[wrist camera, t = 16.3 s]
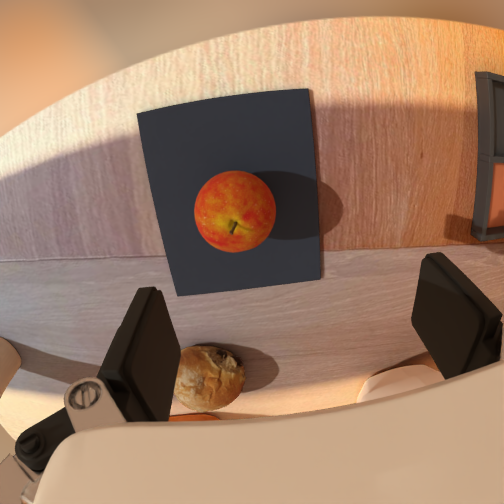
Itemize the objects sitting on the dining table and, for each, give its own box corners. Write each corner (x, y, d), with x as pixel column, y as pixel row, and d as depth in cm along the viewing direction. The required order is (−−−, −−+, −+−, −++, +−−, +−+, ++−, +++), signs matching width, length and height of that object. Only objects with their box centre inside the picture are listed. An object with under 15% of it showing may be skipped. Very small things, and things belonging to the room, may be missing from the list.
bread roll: (174, 329, 42) (141, 370, 36) (237, 335, 37) (206, 386, 31) (202, 376, 46) (176, 415, 40) (261, 385, 41) (237, 432, 35)
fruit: (238, 149, 28) (237, 163, 21) (286, 202, 30) (301, 234, 23) (184, 197, 30) (167, 227, 23) (233, 246, 32) (231, 288, 25)
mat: (137, 113, 26) (136, 113, 26) (307, 88, 26) (308, 88, 26) (178, 294, 35) (177, 296, 35) (319, 277, 35) (320, 279, 34)
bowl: (320, 435, 49) (330, 488, 39) (328, 351, 40) (350, 421, 29) (427, 409, 49) (448, 454, 38) (462, 323, 39) (500, 373, 29)
